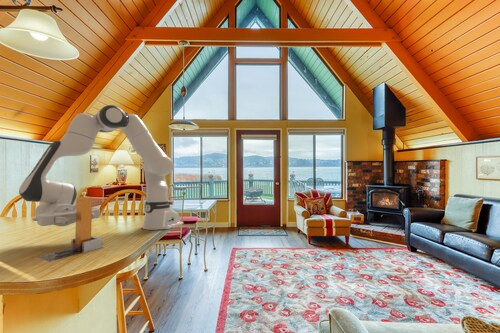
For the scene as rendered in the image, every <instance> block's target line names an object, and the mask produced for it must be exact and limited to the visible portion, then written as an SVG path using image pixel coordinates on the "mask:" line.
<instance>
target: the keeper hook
mask: <svg viewBox="0 0 500 333" xmlns="http://www.w3.org/2000/svg"><path fill="white" fill-rule="evenodd" d="M70 242H71V243H70V248H72V245H73V243H75V238H72V239H71V241H70ZM102 247H103V238H102V237H98V236H94V235H91V240H89V241H85V242H82V252H84V253H88V252H91V250H92V251H96V250H99V248H100V249H103V248H102ZM95 249H96V250H95ZM87 251H88V252H87Z"/></svg>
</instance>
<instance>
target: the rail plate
mask: <svg viewBox="0 0 500 333" xmlns="http://www.w3.org/2000/svg"><path fill="white" fill-rule="evenodd" d="M103 248H104V247H103V246H102V248H99V249H103ZM99 249H98V250H99ZM96 250H97V249H95V250H94V251H96ZM91 251H93V250H91ZM91 251H90V252H91ZM55 252H56V251H54V252H50V253H47V254H42V255H38V256H37V258H40V259H42V260H45V261H47V262H53V261H57V260H62V259H65V258H68V257H72V256H73V257H74V256H76V255H80V254H84V253H85V252H82V251H77V250H76V251H72V252H68V253H64V254H60V255H57V254H55ZM86 253H89V251H87V252H86Z"/></svg>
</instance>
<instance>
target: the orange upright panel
mask: <svg viewBox="0 0 500 333" xmlns="http://www.w3.org/2000/svg"><path fill="white" fill-rule="evenodd" d="M75 203H76V204H75V205H76V222H75V234H74V235H75V237H74V239H75V243H73V245H72V248H71V247H69V248H66V249H65V248H64V249H61V250H57V251H54V252H55V254H57V255H60V254H64V253H68V252H72V251H76V250H77V251H82V242H85V241H89V240H91V236H92V224H93V223H92V220H93V219H92V207H93V196H91V197H90V196H81V197H76V202H75Z"/></svg>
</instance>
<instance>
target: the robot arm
mask: <svg viewBox="0 0 500 333" xmlns="http://www.w3.org/2000/svg"><path fill="white" fill-rule="evenodd" d="M117 130H120V131H121V132H123V133H124V135H125V137H126V138H127V140H128V142H129V143H130V145H131V146H132V148H133V149H134V151H135V152H136V154H137V155H139V156H140V158H142V160H143V161H144V162H143V164H142V169H143V171H144V173H143V174H144V180H145V189H146V190H145V191H146V192H145V193H146V195H145V202H144V211H145V214H144V220H143V224H142V227H141V228H142V229H143V230H147V231H148V230H150V231H153V230H156V231H157V230H169V229H172V228H175V227H176V228H177V227H178V226H180V225H183V224H184V221H181V220H180V216H179V213H178V212H176V210H174V209H173V208H172V207H171V206H172V205H173V206H174V201H171V200H170V201H169V200H168V199H169V196H168V195H169V192H168V191H169V186H168V184H167V180H166V176H168V175H169V174H170V173H171V172H172V171H173V170H174V167H175V165H174V160H173V159H171V157H169V156H168V155H167V154H166V153H165V152H164V150H163V149H162V148H161V147H160V146H159V145H158V143H157V142H156V140H155V139H154V136H153V135H152V134H151V132H150V130H149V129H148V128H147V125H146V124H145V122H143V120H142V119H141V117H139V115H137V114H135V113H127V112H126V111H124V110H123V109H122V108H121V107H119V106H118V105H113V104H108V105H104V106H103V107H101V109H100V108H99V110H98V111H97V113H95V114H94V115H93V114H89V113H86V112H85V113H83V112H80V113H77V114H76V115H75V116H74V118H73V119H72V120H71V121H70V123H69V125H68V128H67V130H66V131H65V134H64V135H63V137H62V138H61V139H60V140H55V141H53V142H52V143H50V145H49V146H48V147H47V148H46V149H45V151H44V153H43V154H42V156H40V158H39V160H38V162H37V163H36V164H35V166H34V167H33V169H32V170H31V171H30V173H29V174H28V175H27V177H25V179H24V181H23V182H22V183H21V185H20V186H19V190H18V194H19V196H20V197H21V198H22V199H23V200H24V201H26V202H30V203H31V202H33V203H38V202H39V203H41V204H39V205H37V206H36V207H35V209H34V216H35V217H33V218H31V220H32V221H33V222H36V225H39V226H41V227H46V226H47V227H49V226H56V227H66V226H69V225H71V224H72V225H73V224H74V223H75V224H76V204H75V203H76V202H75V201H77V196H78V191H77V188H76V187H75V185H74V184H73V183H71V182H65V181H62V180H54V179H51V178H46V177H47V175H48V174H49V172H50V170H51V168H52V167H53V166H54V164H55V162H56V161H57V160H58V159H60V158H63V157H78V156H83V155H86V154H88V153H90V152H91V151H92V149H93V147H94V144H95V141H96V138H97V136H98V134H99V132H100V133H112V132H115V131H117ZM100 217H101V209H100V208H97V207H93V206H92V220H94V219H99V218H100Z"/></svg>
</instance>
